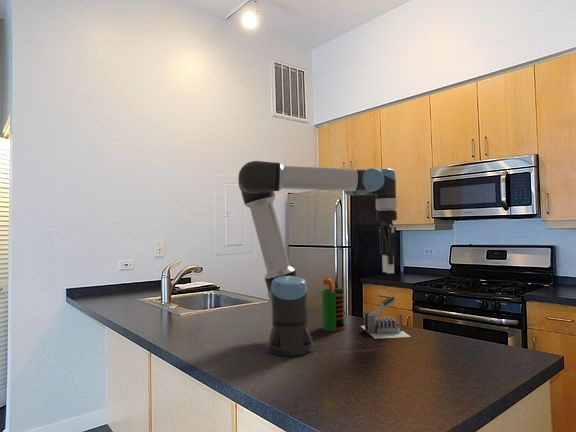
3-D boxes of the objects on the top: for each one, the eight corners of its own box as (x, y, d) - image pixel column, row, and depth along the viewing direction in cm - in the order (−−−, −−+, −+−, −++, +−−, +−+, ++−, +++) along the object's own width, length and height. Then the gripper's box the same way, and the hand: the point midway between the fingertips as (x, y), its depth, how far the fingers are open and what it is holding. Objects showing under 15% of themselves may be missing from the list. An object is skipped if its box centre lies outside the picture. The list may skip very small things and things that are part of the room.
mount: (404, 331, 151) (403, 314, 151) (368, 333, 149) (368, 315, 150) (399, 328, 156) (398, 311, 156) (364, 330, 155) (364, 312, 155)
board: (411, 339, 144) (411, 336, 144) (375, 341, 142) (375, 338, 142) (392, 326, 163) (392, 324, 163) (360, 328, 161) (360, 325, 161)
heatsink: (398, 333, 149) (398, 320, 149) (377, 334, 148) (376, 321, 148) (391, 328, 157) (390, 316, 157) (370, 328, 156) (370, 317, 156)
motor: (344, 334, 153) (342, 280, 154) (320, 333, 155) (319, 280, 156) (346, 328, 163) (344, 277, 164) (323, 327, 165) (322, 277, 165)
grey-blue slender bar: (395, 302, 152) (392, 297, 152) (370, 320, 151) (367, 315, 151) (392, 300, 155) (389, 296, 155) (367, 318, 154) (364, 313, 154)
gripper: (404, 208, 146) (406, 274, 145) (388, 211, 163) (390, 270, 162) (383, 209, 146) (386, 275, 145) (370, 211, 162) (372, 270, 162)
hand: (388, 272), depth 154 cm, fingers open, 4 cm apart
